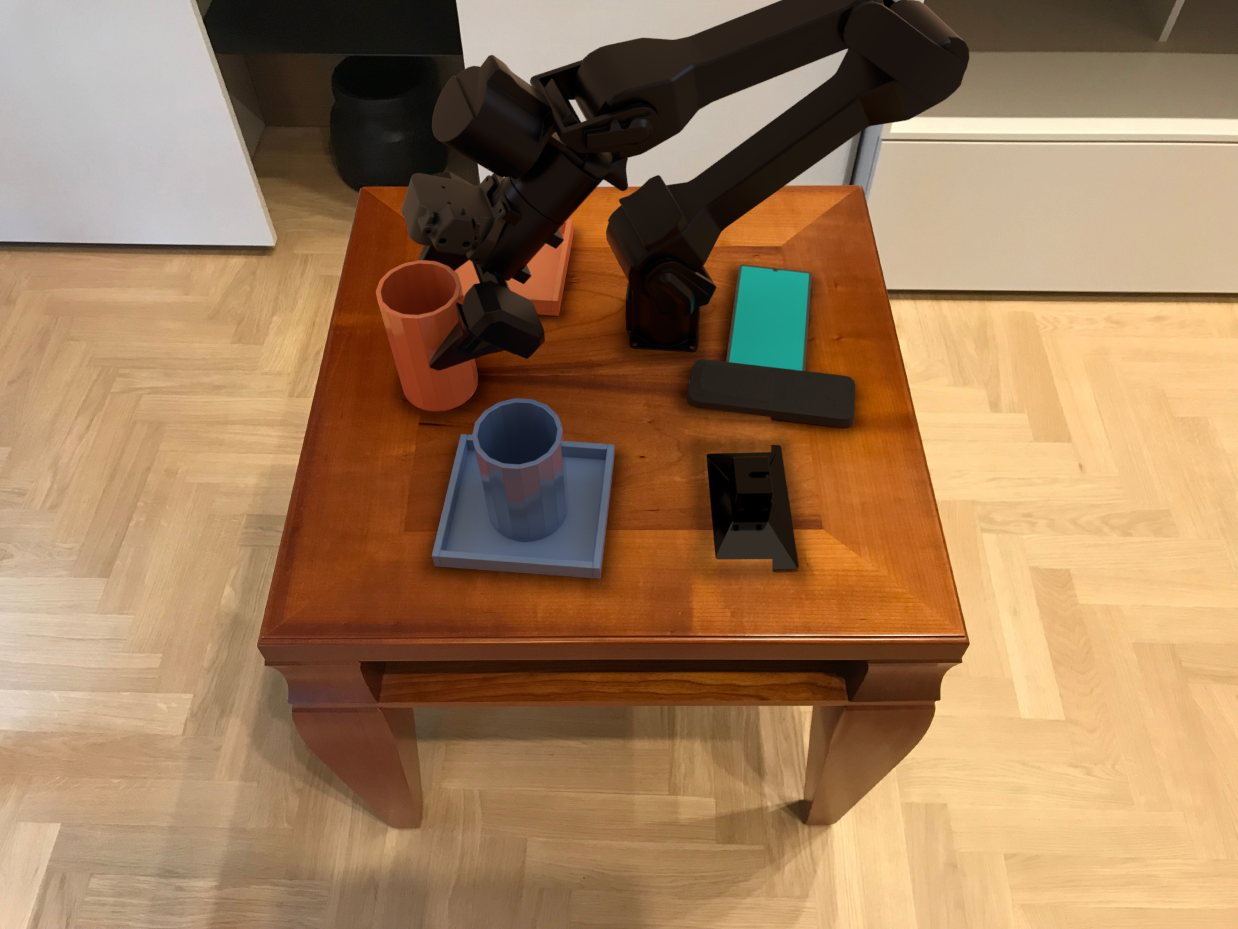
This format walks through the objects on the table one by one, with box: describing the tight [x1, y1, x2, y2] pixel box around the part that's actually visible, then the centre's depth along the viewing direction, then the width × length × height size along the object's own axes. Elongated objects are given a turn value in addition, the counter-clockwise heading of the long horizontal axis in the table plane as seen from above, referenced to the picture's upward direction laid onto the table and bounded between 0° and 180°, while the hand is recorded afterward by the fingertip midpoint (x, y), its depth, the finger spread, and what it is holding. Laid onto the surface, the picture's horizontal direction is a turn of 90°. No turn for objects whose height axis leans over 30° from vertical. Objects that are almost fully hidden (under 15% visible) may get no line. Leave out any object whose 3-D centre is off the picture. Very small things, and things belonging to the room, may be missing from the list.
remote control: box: [686, 358, 856, 429], centre depth 85 cm, size 5×2×15 cm
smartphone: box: [725, 264, 813, 371], centre depth 90 cm, size 7×1×15 cm
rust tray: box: [455, 218, 574, 317], centre depth 95 cm, size 13×12×2 cm
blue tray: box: [431, 433, 616, 580], centre depth 77 cm, size 13×12×2 cm
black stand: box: [705, 444, 800, 572], centre depth 77 cm, size 12×7×5 cm, turn 1°
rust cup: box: [375, 259, 479, 412], centre depth 82 cm, size 7×7×12 cm
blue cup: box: [471, 397, 569, 542], centre depth 74 cm, size 7×7×10 cm
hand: (421, 330), depth 81 cm, fingers open, 9 cm apart
